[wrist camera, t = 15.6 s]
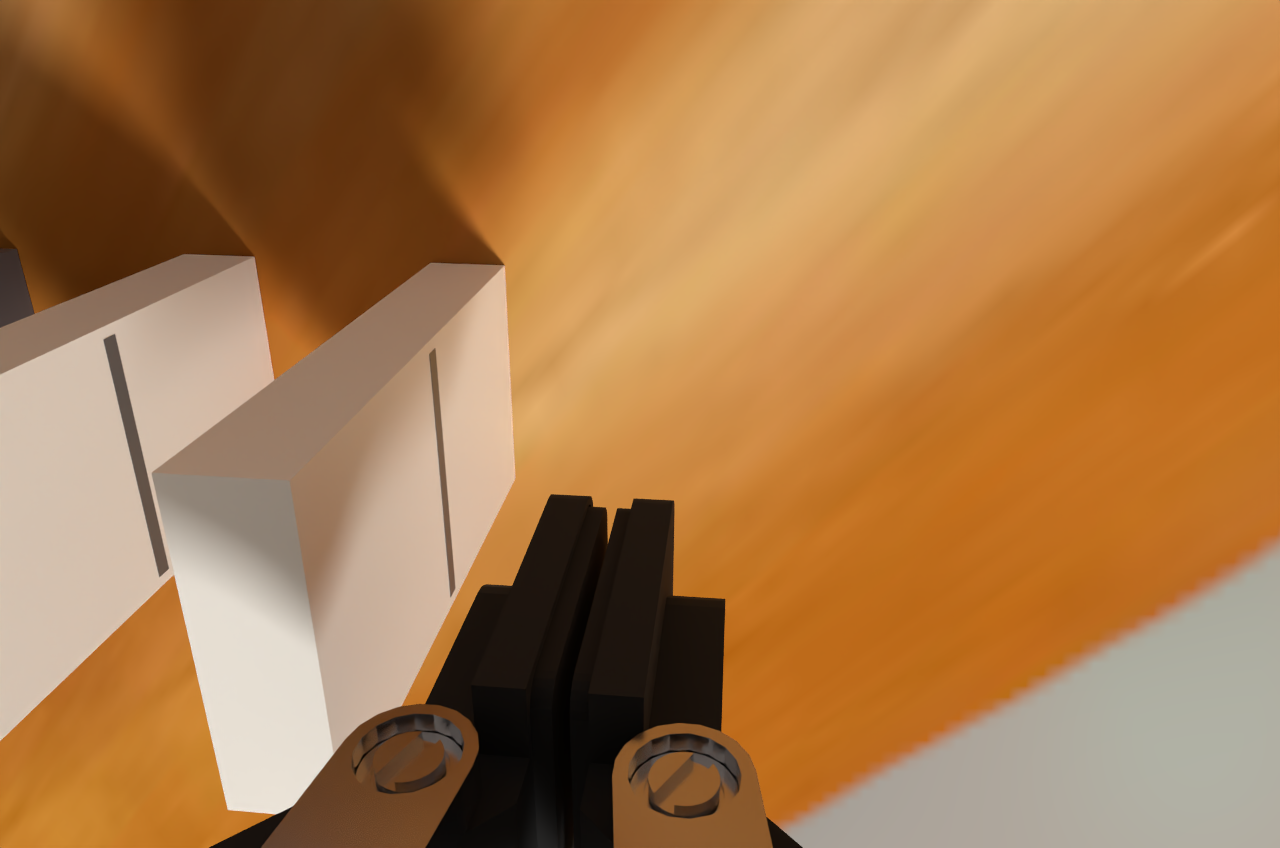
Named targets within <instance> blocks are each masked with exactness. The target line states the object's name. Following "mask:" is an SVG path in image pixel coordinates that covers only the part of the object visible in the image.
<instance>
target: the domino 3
mask: <svg viewBox="0 0 1280 848" xmlns="http://www.w3.org/2000/svg"><path fill="white" fill-rule="evenodd" d="M151 474H152V478H153V483H154V487H155V491H156V496H157V500H158V505H159V509H160V513H161V518H162V522H163V527H164V531H165V535H166V540H167V544H168V549H169V553H170V557H171V562H172V566H173V571H174V575H175V579H176V584H177V588H178V593H179V597H180V601H181V606H182V610H183V615H184V619H185V623H186V628H187V632H188V637H189V641H190V645H191V650H192V654H193V658H194V663H195V667H196V672H197V676H198V680H199V685H200V689H201V694H202V698H203V702H204V707H205V711H206V716H207V720H208V724H209V729H210V733H211V738H212V742H213V746H214V751H215V755H216V760H217V764H218V768H219V773H220V777H221V782H222V786H223V790H224V795H225V799H226V804H227V808H228V810H236V811H247V812H258V813H269V814H278V813H280V812H282V811H284V810H286V809H288V808H290V807H292V806H294V804H295V803H296V802H297V801H298V799H299V798H300V797H301V795H302V794H303V793H304V792H305V790H306V789H307V788H308V786H309V785H310V784H311V783H312V781H313V780H314V779H315V777H316V776H317V775H318V774H319V772H320V771H321V770H322V768H323V767H324V766H325V765H326V763H327V762H328V761H329V759H330V758H331V757H332V756H333V754H334V753H335V752H336V750H337V749H338V748H339V747H340V745H341V744H342V743H343V741H344V740H345V739H346V738H347V737H348V736H349V735H350V734H351V733H352V732H353V731H354V730H355V729H356V728H357V727H358V726H359V725H361V724H362V723H364V722H366V721H367V720H369V719H371V718H372V717H374V716H376V715H377V714H380V713H382V712H385V711H388V710H391V709H394V708H397V707H401V706H402V704H403V702H404V700H405V698H406V696H407V694H408V692H409V690H410V688H411V686H412V684H413V682H414V680H415V678H416V676H417V674H418V672H419V670H420V668H421V666H422V664H423V662H424V660H425V658H426V656H427V654H428V652H429V650H430V648H431V646H432V644H433V642H434V640H435V638H436V636H437V634H438V632H439V630H440V628H441V626H442V624H443V622H444V620H445V618H446V616H447V614H448V612H449V610H450V608H451V606H452V604H453V602H454V600H455V598H456V596H457V594H458V592H459V590H460V588H461V586H462V584H463V582H464V580H465V578H466V576H467V574H468V572H469V570H470V568H471V566H472V564H473V562H474V560H475V558H476V556H477V554H478V552H479V550H480V548H481V546H482V544H483V542H484V540H485V538H486V536H487V534H488V532H489V530H490V528H491V526H492V524H493V522H494V520H495V518H496V516H497V514H498V512H499V510H500V508H501V506H502V504H503V502H504V500H505V498H506V496H507V494H508V492H509V490H510V488H511V486H512V484H513V482H514V480H515V460H514V440H513V420H512V400H511V380H510V360H509V340H508V320H507V300H506V280H505V265H480V264H451V263H430V264H428V265H427V266H426V267H424V268H423V269H422V270H420V271H419V272H418V273H416V274H415V275H414V276H412V277H411V278H410V279H408V280H407V281H406V282H404V283H403V284H402V285H400V286H399V287H398V288H396V289H395V290H394V291H392V292H391V293H390V294H388V295H387V296H386V297H384V298H383V299H382V300H380V301H379V302H378V303H376V304H375V305H374V306H372V307H371V308H370V309H368V310H367V311H366V312H364V313H363V314H362V315H360V316H359V317H358V318H356V319H355V320H354V321H352V322H351V323H350V324H348V325H347V326H346V327H344V328H343V329H342V330H340V331H339V332H338V333H336V334H335V335H334V336H332V337H331V338H330V339H329V340H327V341H326V342H325V343H323V344H322V345H321V346H319V347H318V348H317V349H315V350H314V351H313V352H311V353H310V354H309V355H307V356H306V357H305V358H303V359H302V360H301V361H299V362H298V363H297V364H295V365H294V366H293V367H291V368H290V369H289V370H287V371H286V372H285V373H283V374H282V375H281V376H279V377H278V378H277V379H275V380H274V381H273V382H271V383H270V384H269V385H267V386H266V387H265V388H263V389H262V390H261V391H259V392H258V393H257V394H255V395H254V396H253V397H251V398H250V399H249V400H247V401H246V402H245V403H243V404H242V405H241V406H239V407H238V408H237V409H235V410H234V411H233V412H231V413H230V414H229V415H227V416H226V417H225V418H223V419H222V420H221V421H219V422H218V423H217V424H216V425H214V426H213V427H212V428H210V429H209V430H208V431H206V432H205V433H204V434H202V435H201V436H200V437H198V438H197V439H196V440H194V441H193V442H192V443H190V444H189V445H188V446H186V447H185V448H184V449H182V450H181V451H180V452H178V453H177V454H176V455H174V456H173V457H172V458H170V459H169V460H168V461H166V462H165V463H164V464H162V465H161V466H160V467H158V468H157V469H156V470H154V471H153V472H152V473H151Z"/></svg>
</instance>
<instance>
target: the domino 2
mask: <svg viewBox="0 0 1280 848" xmlns="http://www.w3.org/2000/svg"><path fill="white" fill-rule="evenodd" d="M273 381H274V375H273V369H272V363H271V357H270V350H269V344H268V338H267V332H266V325H265V319H264V313H263V307H262V300H261V294H260V288H259V282H258V276H257V269H256V263H255V257H253V256H224V255H196V254H183V255H180V256H178V257H175V258H173V259H170V260H168V261H165V262H163V263H160V264H158V265H156V266H153V267H151V268H148V269H146V270H143V271H141V272H138V273H136V274H133V275H131V276H128V277H126V278H123V279H121V280H118V281H116V282H113V283H111V284H108V285H106V286H103V287H101V288H98V289H96V290H93V291H91V292H88V293H86V294H83V295H81V296H78V297H76V298H73V299H71V300H68V301H66V302H63V303H61V304H58V305H56V306H53V307H51V308H48V309H46V310H43V311H41V312H38V313H36V314H33V315H31V316H28V317H26V318H23V319H21V320H18V321H16V322H13V323H11V324H8V325H6V326H3V327H1V328H0V740H2V739H3V738H4V737H5V736H6V735H7V734H8V733H9V732H10V731H11V730H12V729H13V728H14V727H15V726H16V725H17V724H18V723H19V722H20V721H21V720H22V719H23V718H25V717H26V716H27V715H28V714H29V713H30V712H31V711H32V710H33V709H34V708H35V707H36V706H37V705H38V704H39V703H40V702H41V701H42V700H43V699H44V698H45V697H46V696H47V695H49V694H50V693H51V692H52V691H53V690H54V689H55V688H56V687H57V686H58V685H59V684H60V683H61V682H62V681H63V680H64V679H65V678H66V677H67V676H68V675H69V674H70V673H72V672H73V671H74V670H75V669H76V668H77V667H78V666H79V665H80V664H81V663H82V662H83V661H84V660H85V659H86V658H87V657H88V656H89V655H90V654H91V653H92V652H93V651H95V650H96V649H97V648H98V647H99V646H100V645H101V644H102V643H103V642H104V641H105V640H106V639H107V638H108V637H109V636H110V635H111V634H112V633H113V632H114V631H115V630H116V629H117V628H119V627H120V626H121V625H122V624H123V623H124V622H125V621H126V620H127V619H128V618H129V617H130V616H131V615H132V614H133V613H134V612H135V611H136V610H137V609H138V608H139V607H140V606H142V605H143V604H144V603H145V602H146V601H147V600H148V599H149V598H150V597H151V596H152V595H153V594H154V593H155V592H156V591H157V590H158V589H159V588H160V587H161V586H162V585H163V584H164V583H166V582H167V581H168V580H169V579H170V578H171V577H172V576H173V575H174V571H173V566H172V562H171V557H170V553H169V549H168V544H167V540H166V535H165V531H164V527H163V522H162V518H161V513H160V509H159V505H158V500H157V496H156V491H155V487H154V483H153V478H152V474H151V473H152V472H153V471H154V470H156V469H157V468H158V467H160V466H161V465H162V464H164V463H165V462H166V461H168V460H169V459H170V458H172V457H173V456H174V455H176V454H177V453H178V452H180V451H181V450H182V449H184V448H185V447H186V446H188V445H189V444H190V443H192V442H193V441H194V440H196V439H197V438H198V437H200V436H201V435H202V434H204V433H205V432H206V431H208V430H209V429H210V428H212V427H213V426H214V425H216V424H217V423H218V422H219V421H221V420H222V419H223V418H225V417H226V416H227V415H229V414H230V413H231V412H233V411H234V410H235V409H237V408H238V407H239V406H241V405H242V404H243V403H245V402H246V401H247V400H249V399H250V398H251V397H253V396H254V395H255V394H257V393H258V392H259V391H261V390H262V389H263V388H265V387H266V386H267V385H269V384H270V383H271V382H273Z"/></svg>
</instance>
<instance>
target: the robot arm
mask: <svg viewBox="0 0 1280 848" xmlns="http://www.w3.org/2000/svg"><path fill="white" fill-rule="evenodd" d="M673 556H674V501H671V500H651V499H634V500H633V503H632V507H631V509H622V508H618V509H617V512H616V515H615V519H614V523H613V527H612V531H611V534H610V538H609V542H608V537H607V510H606V508H603V507H593V501H592V497H591V496H573V495H554V494H552V495H550V497H549V499H548V501H547V504H546V506H545V508H544V511H543V513H542V516H541V518H540V520H539V523H538V525H537V528H536V530H535V532H534V535H533V537H532V540H531V542H530V544H529V547H528V549H527V552H526V554H525V556H524V559H523V561H522V564H521V566H520V569H519V571H518V573H517V576H516V578H515V581H514V583H513V585H512V586H504V585H488V584H486V585H483V586H482V587H481V589H480V590H479V592H478V593H477V596H476V598H475V600H474V602H473V604H472V606H471V608H470V610H469V613H468V615H467V617H466V619H465V621H464V623H463V625H462V627H461V629H460V632H459V634H458V636H457V638H456V640H455V642H454V644H453V646H452V649H451V651H450V653H449V655H448V657H447V659H446V661H445V663H444V666H443V668H442V670H441V672H440V674H439V676H438V678H437V680H436V683H435V685H434V687H433V689H432V691H431V693H430V695H429V697H428V699H427V702H426V704H415V705H408V706H401V707H397V708H394V709H391V710H388V711H385V712H382V713H380V714H377V715H376V716H374V717H372V718H371V719H369V720H367V721H366V722H364V723H362V724H361V725H359V726H358V727H357V728H356V729H355V730H354V731H353V732H352V733H351V734H350V735H349V736H348V737H347V738H346V739H345V740H344V741H343V743H342V744H341V745H340V747H339V748H338V749H337V750H336V752H335V753H334V754H333V756H332V757H331V758H330V759H329V761H328V762H327V763H326V765H325V766H324V767H323V768H322V770H321V771H320V772H319V774H318V775H317V776H316V777H315V779H314V780H313V781H312V783H311V784H310V785H309V786H308V788H307V789H306V790H305V792H304V793H303V794H302V795H301V797H300V798H299V799H298V801H297V802H296V803H295V804H294V806H292V807H290V808H288V809H286V810H284V811H282V812H280V813H278V814H276V815H274V816H272V817H270V818H268V819H266V820H264V821H262V822H260V823H258V824H256V825H254V826H252V827H250V828H248V829H246V830H244V831H242V832H240V833H238V834H236V835H234V836H232V837H230V838H228V839H225V840H223V841H221V842H219V843H217V844H215V845H213V846H211V847H209V848H802V847H801V846H800V845H799V844H798V843H797V842H795V841H794V840H793V839H792V838H791V837H790V836H788V835H787V834H786V833H785V832H784V831H783V830H781V829H780V828H779V827H778V826H777V825H775V824H774V823H773V822H772V821H771V820H770V819H768V818H767V817H766V814H765V809H764V805H763V800H762V795H761V791H760V786H759V782H758V777H757V773H756V769H755V767H754V765H753V763H752V760H751V758H750V756H749V754H748V753H747V752H746V751H745V750H744V749H743V748H742V747H741V746H740V744H739V743H738V742H737V741H735V740H734V739H732V738H730V737H729V736H727V735H725V734H724V733H722V732H721V720H722V688H723V656H724V625H725V599H717V598H700V597H684V596H673Z"/></svg>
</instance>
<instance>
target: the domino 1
mask: <svg viewBox="0 0 1280 848" xmlns="http://www.w3.org/2000/svg"><path fill="white" fill-rule="evenodd" d="M33 314H34V311H33V307H32V303H31V300H30V296H29V292H28V289H27V285H26V281H25V278H24V274H23V270H22V267H21V263H20V259H19V256H18V252H17V249H3V248H0V328H1V327H3V326H6V325H8V324H11V323H13V322H16V321H18V320H21V319H23V318H26V317H28V316H31V315H33Z"/></svg>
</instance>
